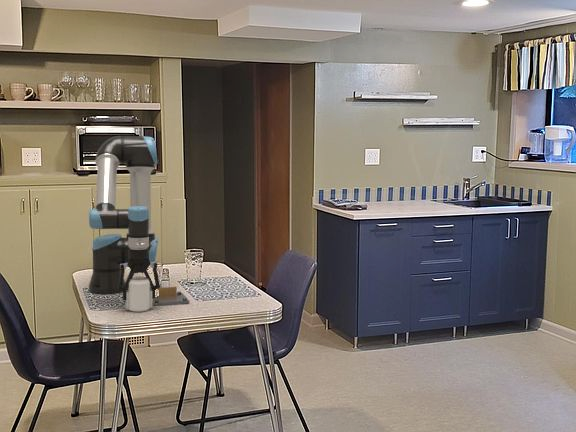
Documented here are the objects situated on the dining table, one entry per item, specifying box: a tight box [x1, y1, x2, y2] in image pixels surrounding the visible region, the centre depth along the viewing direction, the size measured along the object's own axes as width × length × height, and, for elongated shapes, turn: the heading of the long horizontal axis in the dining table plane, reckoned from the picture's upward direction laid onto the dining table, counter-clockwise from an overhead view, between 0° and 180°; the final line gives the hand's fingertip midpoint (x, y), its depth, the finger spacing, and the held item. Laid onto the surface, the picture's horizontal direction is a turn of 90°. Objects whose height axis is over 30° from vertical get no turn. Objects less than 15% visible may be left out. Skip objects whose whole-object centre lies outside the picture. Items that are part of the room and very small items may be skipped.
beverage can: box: [127, 276, 151, 313], centre depth 264 cm, size 8×8×12 cm
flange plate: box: [152, 286, 190, 307], centre depth 279 cm, size 14×14×4 cm
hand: (139, 307), depth 264 cm, fingers closed on beverage can, 8 cm apart
